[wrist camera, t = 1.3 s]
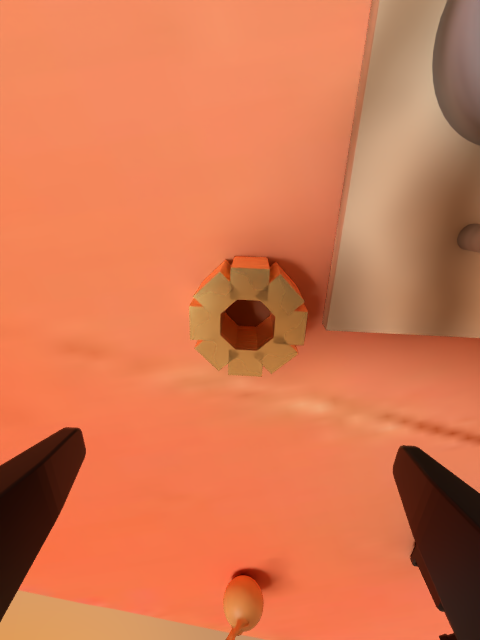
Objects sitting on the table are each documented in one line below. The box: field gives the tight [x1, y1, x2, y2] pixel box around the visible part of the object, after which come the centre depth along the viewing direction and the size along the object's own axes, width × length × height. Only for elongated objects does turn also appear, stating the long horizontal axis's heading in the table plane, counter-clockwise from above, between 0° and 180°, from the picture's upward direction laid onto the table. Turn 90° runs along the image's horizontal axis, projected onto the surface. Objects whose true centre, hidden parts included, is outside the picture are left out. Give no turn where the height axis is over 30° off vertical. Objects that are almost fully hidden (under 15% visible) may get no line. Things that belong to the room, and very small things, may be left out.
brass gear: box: [189, 256, 308, 377], centre depth 18 cm, size 6×6×4 cm
